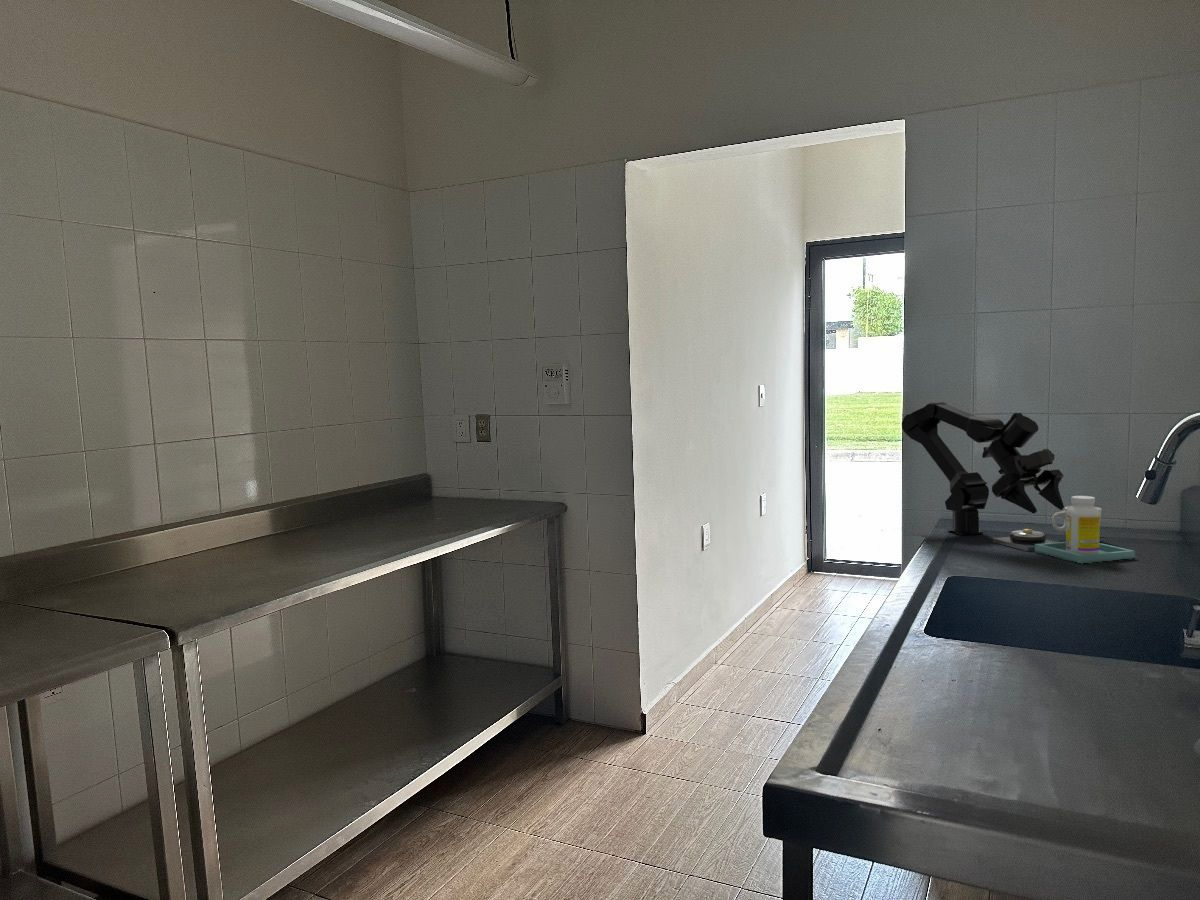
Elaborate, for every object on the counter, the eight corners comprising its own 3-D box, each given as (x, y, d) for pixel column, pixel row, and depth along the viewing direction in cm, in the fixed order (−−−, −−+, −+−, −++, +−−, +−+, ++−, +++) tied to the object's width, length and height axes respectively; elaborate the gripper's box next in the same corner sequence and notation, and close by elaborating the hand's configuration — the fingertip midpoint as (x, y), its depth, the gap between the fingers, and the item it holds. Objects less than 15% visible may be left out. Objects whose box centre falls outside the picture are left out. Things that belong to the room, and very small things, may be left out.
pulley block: (992, 542, 211) (992, 527, 211) (1027, 539, 213) (1027, 524, 213) (1027, 551, 199) (1028, 535, 199) (1063, 548, 202) (1064, 532, 201)
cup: (1055, 542, 209) (1055, 510, 208) (1048, 536, 216) (1048, 505, 215) (1105, 543, 205) (1105, 510, 205) (1096, 537, 213) (1096, 505, 212)
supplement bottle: (1105, 553, 192) (1107, 497, 191) (1087, 557, 189) (1088, 500, 188) (1077, 548, 198) (1078, 494, 197) (1059, 552, 195) (1060, 496, 194)
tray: (1034, 551, 198) (1034, 544, 198) (1084, 547, 202) (1084, 539, 202) (1081, 564, 185) (1082, 556, 185) (1134, 558, 188) (1135, 550, 188)
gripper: (1002, 440, 199) (1043, 492, 190) (1057, 436, 207) (1099, 485, 198) (974, 470, 207) (1012, 522, 198) (1028, 465, 215) (1067, 514, 206)
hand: (1049, 510), depth 200 cm, fingers open, 9 cm apart
